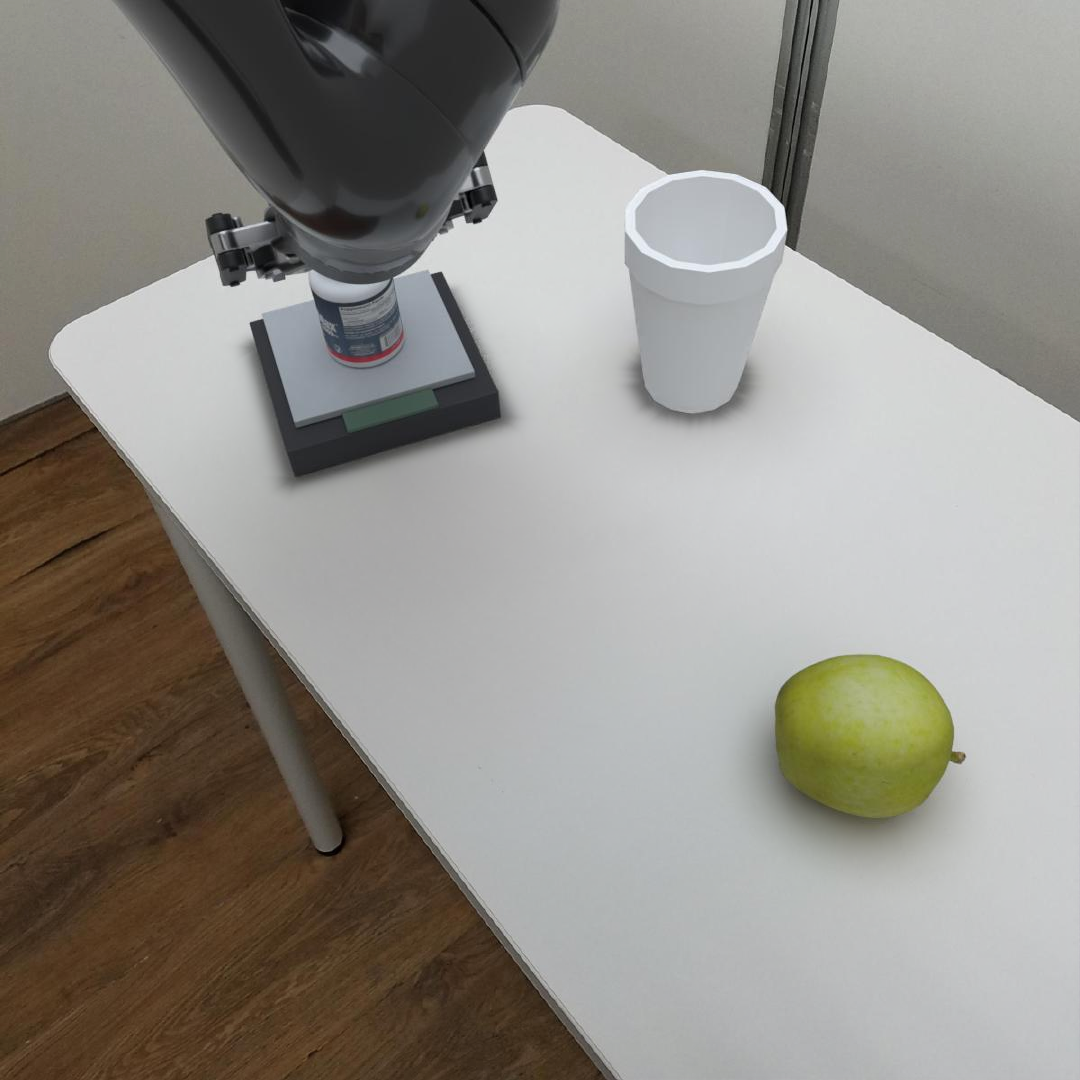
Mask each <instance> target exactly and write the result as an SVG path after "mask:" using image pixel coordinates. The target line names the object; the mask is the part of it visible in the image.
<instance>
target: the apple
mask: <svg viewBox="0 0 1080 1080" xmlns="http://www.w3.org/2000/svg"><path fill="white" fill-rule="evenodd" d="M774 734H775V735H774V736H775V749H776V754H777V758H778V766H779V769H780V771H781V773H782V775H783V776H784V778H785V780H786V781H788V783H790V784H791V786H792V787H794V788H795V789H797V790H798V791H799V792H801V793H802V794H804V795H805V796H807V797H808V798H811V799H813V800H814V801H817V802H819V803H821V804H823V805H825V806H827V807H828V808H831V809H834V810H836V811H838V812H839V811H840V812H842V813H846V814H849V815H853V816H858V817H863V818H870V819H871V818H872V819H873V818H874V819H881V818H891V817H896V816H900V815H903V814H906V813H908V812H912V811H913V810H915V809H916V808H918V807H920V806H921V805H922V804H923V803H925V801H926V800H927V799H928V798H929V797H930V795H931V794H932V792H933V791H934V789H935V788H936V787H937V785H938V784H939V782H940V781H941V780H942V778H943V777H944V775H945V773H946V770H947V768H948V765H949V763H950V762H951V763H954V764H958V765H962V764H963V762H965V760H966V757H967V755H966V753H965V752H964V751H953V746H954V740H955V725H954V721H953V717H952V714H951V711H950V709H949V707H948V706H947V704H946V702H945V699H944V698H943V697H942V695H941V693H940V692H939V691H938V689H937V688H936V687H935V685H934V684H933V683H932V682H931V681H930V680H929V679H928V678H927V677H926V676H925V675H923V674H922V673H921V672H920V671H918V670H917V669H915V668H914V667H912V666H910V665H909V664H907V663H906V662H903V661H900V660H898V659H895V658H892V657H888V656H884V655H880V654H867V653H866V654H862V653H861V654H859V653H858V654H843V655H838V656H837V655H836V656H833V657H829V658H826V659H823V660H820V661H818V662H816V663H813V664H810V665H808V666H806V667H805V668H803V669H801V670H799V671H797V672H796V673H794V674H793V675H791V676H790V677H789V678H788V679H787V680H786V681H785V682H784V683H783V684H782V685H781V686H780V689H779V691H778V693H777V696H776V699H775V702H774Z"/></svg>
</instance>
